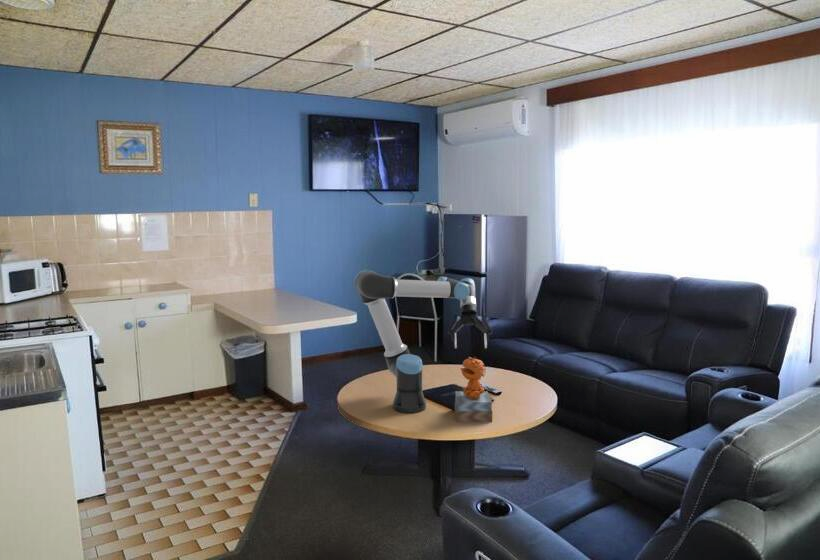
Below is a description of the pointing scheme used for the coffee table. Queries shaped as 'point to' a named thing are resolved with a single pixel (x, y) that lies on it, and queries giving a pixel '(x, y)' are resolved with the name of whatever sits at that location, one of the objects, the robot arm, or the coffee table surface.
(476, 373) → the orange figurine
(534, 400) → the coffee table surface
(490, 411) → the grey square block
